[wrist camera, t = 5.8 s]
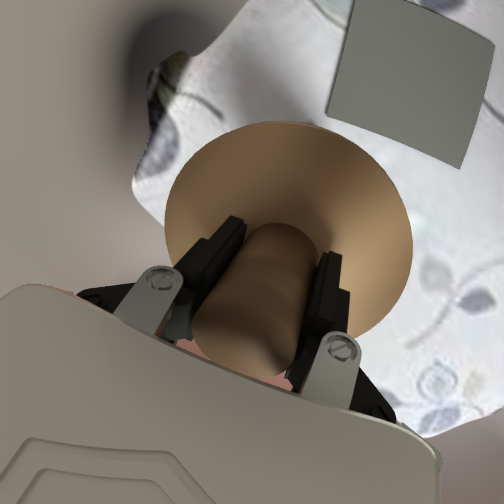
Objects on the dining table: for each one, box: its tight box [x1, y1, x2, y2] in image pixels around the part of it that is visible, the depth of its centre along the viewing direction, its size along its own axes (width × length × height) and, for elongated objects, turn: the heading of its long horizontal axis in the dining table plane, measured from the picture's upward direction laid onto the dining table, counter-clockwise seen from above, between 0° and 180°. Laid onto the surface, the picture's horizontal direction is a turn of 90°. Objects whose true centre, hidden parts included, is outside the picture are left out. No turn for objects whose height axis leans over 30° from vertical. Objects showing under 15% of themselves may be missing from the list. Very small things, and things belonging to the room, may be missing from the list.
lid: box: [165, 121, 413, 378], centre depth 11 cm, size 11×11×6 cm
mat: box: [326, 0, 495, 170], centre depth 21 cm, size 14×14×1 cm
